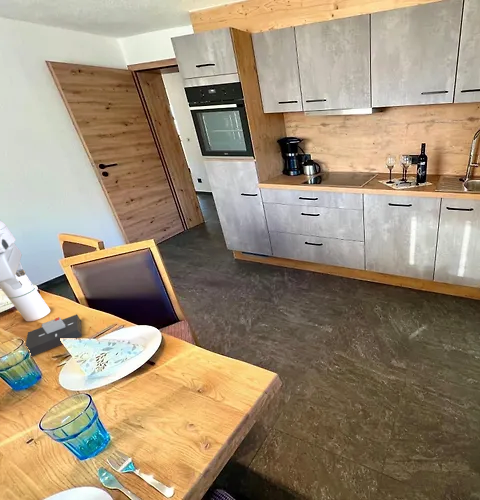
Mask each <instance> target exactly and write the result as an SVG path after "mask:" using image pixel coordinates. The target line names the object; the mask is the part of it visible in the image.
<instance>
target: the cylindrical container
mask: <svg viewBox="0 0 480 500" xmlns="http://www.w3.org/2000/svg"><path fill="white" fill-rule="evenodd" d="M15 276H16V279H17V280H18V281H20V282H21V284H22V287H21V288H19V289H16V290H14V289H13V288H12V287H11V286H10V285H9V284H7V283H6V282H5V281H4V282H1V283H0V290H2V292H3V293H4V295H5V296H6V297H7V298H8V299H9V300H10V303H11V304H12V305H13V306H14V308H15V309H16V310H17V311H18V313H19V314H20V316H21V317H22V318H23V319H24V321H25V322H34V321H37V320H40V319H42V318H44V317H46V316H48V315H49V314H50V313H51V309H50V307H49V305H48V304H47V302H46V301H45V299H44V298H43V297H42V295H41V294H40V293H39V290H37V288H36V287H35V286H34V284H33V282H32V281H31V280H30V278H29V277H28V275H27V274H26V273H25V275H24V276H20V277H18V276H17V275H15Z"/></svg>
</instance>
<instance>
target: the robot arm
mask: <svg viewBox="0 0 480 500" xmlns="http://www.w3.org/2000/svg"><path fill="white" fill-rule="evenodd" d="M16 241H17V238H16V237H15V236H14V235H13V233H12V232H11V230H10V228H9V227H8V225H7V224H6V223H5V222H4V221H3V220H1V219H0V283H1V282H4V281H5V282H6V283H7V284H9V285H10V286H11V287H12V288H13V289H14V290H16V289H19V288H21V287H22V284H21V282H20V281H18V280H17V279H16V276H15V275H17V276H18V277H20V276H24V275H25V274H26V271H25V270H24V268H23V265H22V262H21V259H22V256H23V254H22V252H21V250H20V249H19V248H18V246H17V245H16V244H15V243H16Z"/></svg>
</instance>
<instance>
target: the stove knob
mask: <svg viewBox="0 0 480 500" xmlns="http://www.w3.org/2000/svg"><path fill="white" fill-rule="evenodd" d="M62 320H63V319H62V318H61V317H55V318H54V319H52V320H49V321H46V322H42V323H41V327H43V329H44V330H45V332H46V333H47V334H49V333H51V332H54V331H57V330H59V329H62V328H65V324H64V322H63V321H62Z"/></svg>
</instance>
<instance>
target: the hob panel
mask: <svg viewBox="0 0 480 500" xmlns="http://www.w3.org/2000/svg"><path fill="white" fill-rule="evenodd" d="M62 321H63V322H64V324H65V328H62V329H59V330H57V331H54V332H51V333H49V334H47V333H46V332H45V330H44V329H43V327H42V326H41V327H38V328H36V329H33V330H31V331H28V332H27V335H26V341H25V345H26V346H27V347H28V349H29V350H30V353H31V356H32V357H34V356H36V355H39V354H41V353H45V352H47V351H49V350H52V349H54V348H57V347H59V346H62V345H63V344H62V343H61V341H60V338H76V339H78V338H81V337H83V333H82V330H83V329H82V320H81V318H80V316H79V315H78V314H74V315H71V316H69V317H66V318H63V319H62Z"/></svg>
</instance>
